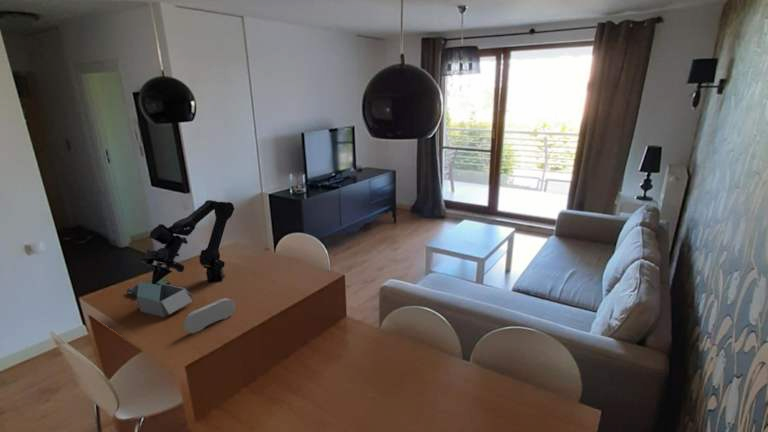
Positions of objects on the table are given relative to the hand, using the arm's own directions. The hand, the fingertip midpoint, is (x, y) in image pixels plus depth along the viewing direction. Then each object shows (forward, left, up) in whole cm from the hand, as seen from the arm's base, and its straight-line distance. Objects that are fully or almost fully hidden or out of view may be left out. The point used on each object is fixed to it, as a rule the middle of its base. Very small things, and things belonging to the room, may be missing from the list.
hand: (153, 283), depth 159 cm
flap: (+1, +2, -2) cm, 3 cm away
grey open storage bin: (-2, -4, -12) cm, 13 cm away
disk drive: (+13, -21, -13) cm, 28 cm away
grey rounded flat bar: (-26, +15, -13) cm, 32 cm away
